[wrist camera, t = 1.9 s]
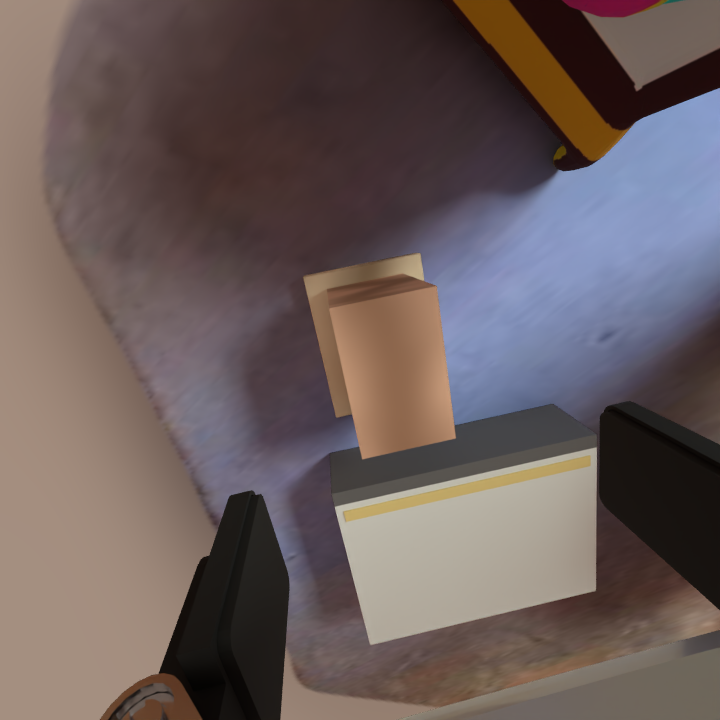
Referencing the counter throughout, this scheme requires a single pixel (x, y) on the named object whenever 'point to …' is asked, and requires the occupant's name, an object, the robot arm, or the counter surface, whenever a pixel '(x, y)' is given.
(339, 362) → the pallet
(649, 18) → the decorative lantern
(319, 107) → the counter surface
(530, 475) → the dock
